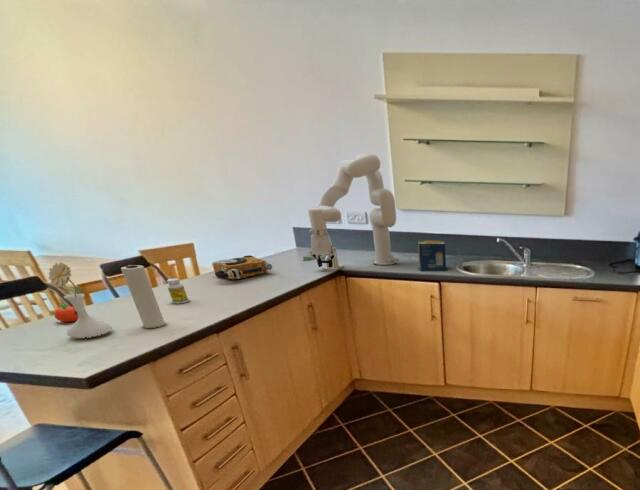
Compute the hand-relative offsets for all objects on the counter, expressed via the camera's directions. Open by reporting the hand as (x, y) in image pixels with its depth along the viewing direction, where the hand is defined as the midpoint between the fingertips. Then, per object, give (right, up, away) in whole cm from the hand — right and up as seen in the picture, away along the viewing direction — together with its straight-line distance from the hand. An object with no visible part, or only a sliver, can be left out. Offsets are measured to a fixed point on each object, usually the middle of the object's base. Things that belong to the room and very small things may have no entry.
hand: (325, 266), depth 230 cm
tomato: (-60, -42, -77) cm, 106 cm away
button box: (-20, +13, +31) cm, 39 cm away
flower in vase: (-40, -49, -89) cm, 109 cm away
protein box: (+56, +4, +19) cm, 59 cm away
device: (-38, -9, -13) cm, 41 cm away
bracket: (0, +1, +9) cm, 10 cm away
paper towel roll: (-28, -44, -78) cm, 94 cm away
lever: (0, +6, +3) cm, 6 cm away
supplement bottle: (-38, -31, -53) cm, 72 cm away
